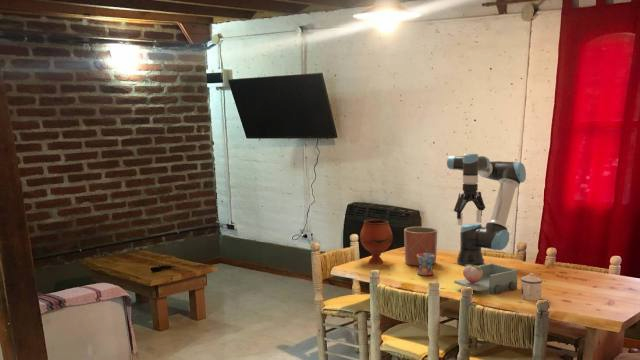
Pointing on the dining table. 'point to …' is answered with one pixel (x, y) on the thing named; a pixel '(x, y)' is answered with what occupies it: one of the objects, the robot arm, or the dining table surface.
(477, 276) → the decorative fruit
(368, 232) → the goblet
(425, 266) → the mug
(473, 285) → the tailgate
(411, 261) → the planter
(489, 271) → the truck bed
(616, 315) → the dining table surface
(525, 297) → the teacup with lid
